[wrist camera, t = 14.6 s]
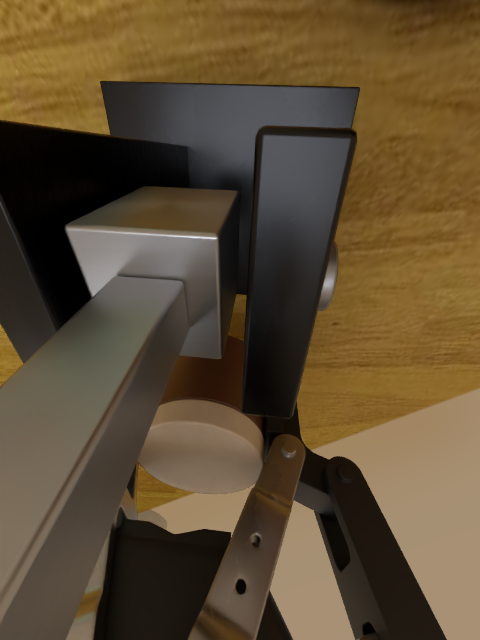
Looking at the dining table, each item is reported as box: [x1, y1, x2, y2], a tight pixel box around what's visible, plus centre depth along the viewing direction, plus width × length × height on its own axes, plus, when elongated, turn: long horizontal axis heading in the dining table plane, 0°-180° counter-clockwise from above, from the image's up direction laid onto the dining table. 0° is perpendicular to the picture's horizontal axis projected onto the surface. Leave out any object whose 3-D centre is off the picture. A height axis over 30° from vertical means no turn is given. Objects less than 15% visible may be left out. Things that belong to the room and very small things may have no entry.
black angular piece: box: [0, 81, 360, 419], centre depth 8 cm, size 8×9×10 cm
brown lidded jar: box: [137, 335, 265, 494], centre depth 12 cm, size 5×5×5 cm
